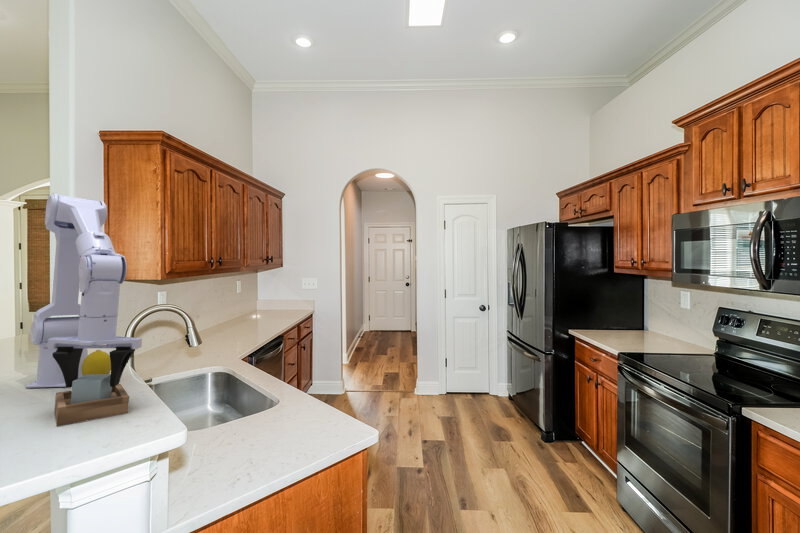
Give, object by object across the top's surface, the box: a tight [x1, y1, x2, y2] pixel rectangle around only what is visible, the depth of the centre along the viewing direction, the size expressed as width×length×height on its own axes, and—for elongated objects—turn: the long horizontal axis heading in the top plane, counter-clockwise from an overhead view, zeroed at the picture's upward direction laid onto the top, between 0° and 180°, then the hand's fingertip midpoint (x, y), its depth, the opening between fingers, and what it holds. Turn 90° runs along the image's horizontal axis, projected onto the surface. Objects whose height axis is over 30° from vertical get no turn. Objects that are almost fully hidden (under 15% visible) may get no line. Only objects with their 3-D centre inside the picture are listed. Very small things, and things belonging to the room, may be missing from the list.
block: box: [71, 373, 112, 404], centre depth 69 cm, size 4×4×4 cm
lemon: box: [82, 349, 111, 376], centre depth 85 cm, size 6×6×8 cm
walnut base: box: [53, 383, 130, 427], centre depth 69 cm, size 10×10×3 cm
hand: (93, 385), depth 69 cm, fingers open, 6 cm apart
